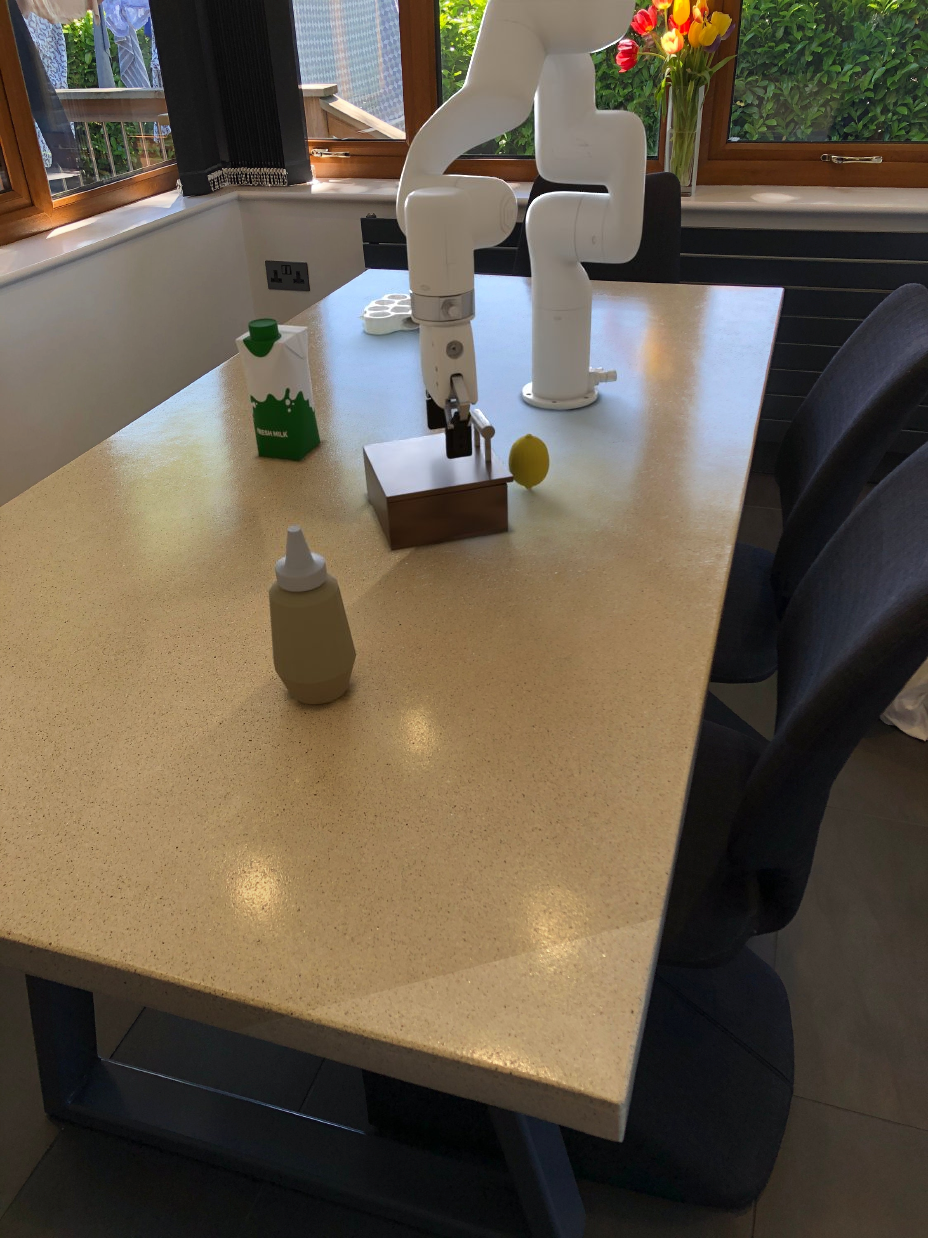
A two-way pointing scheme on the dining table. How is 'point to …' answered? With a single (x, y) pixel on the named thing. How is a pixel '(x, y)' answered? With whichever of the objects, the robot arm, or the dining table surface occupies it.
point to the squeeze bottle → (309, 625)
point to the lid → (436, 464)
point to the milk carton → (279, 389)
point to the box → (439, 514)
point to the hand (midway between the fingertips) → (449, 441)
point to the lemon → (529, 461)
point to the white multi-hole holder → (389, 315)
